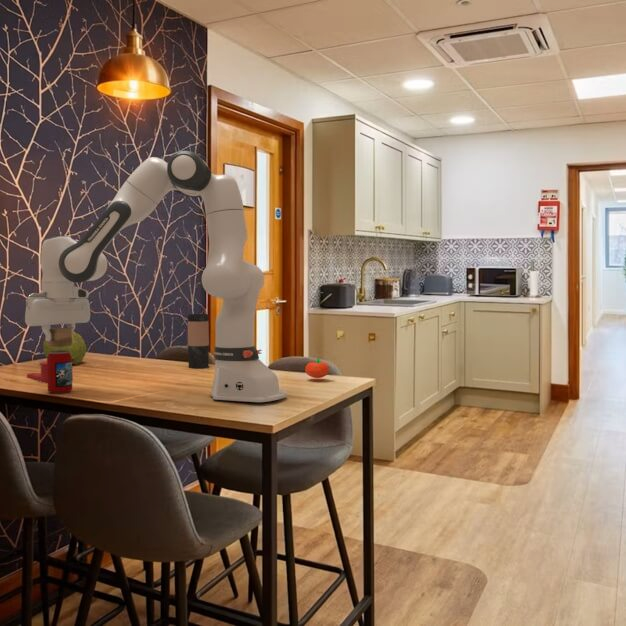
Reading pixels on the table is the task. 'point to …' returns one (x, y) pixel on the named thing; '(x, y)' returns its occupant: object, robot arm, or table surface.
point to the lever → (41, 374)
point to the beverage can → (59, 371)
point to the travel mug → (198, 341)
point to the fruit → (70, 348)
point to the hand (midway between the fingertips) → (59, 340)
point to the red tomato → (317, 369)
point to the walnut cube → (60, 337)
